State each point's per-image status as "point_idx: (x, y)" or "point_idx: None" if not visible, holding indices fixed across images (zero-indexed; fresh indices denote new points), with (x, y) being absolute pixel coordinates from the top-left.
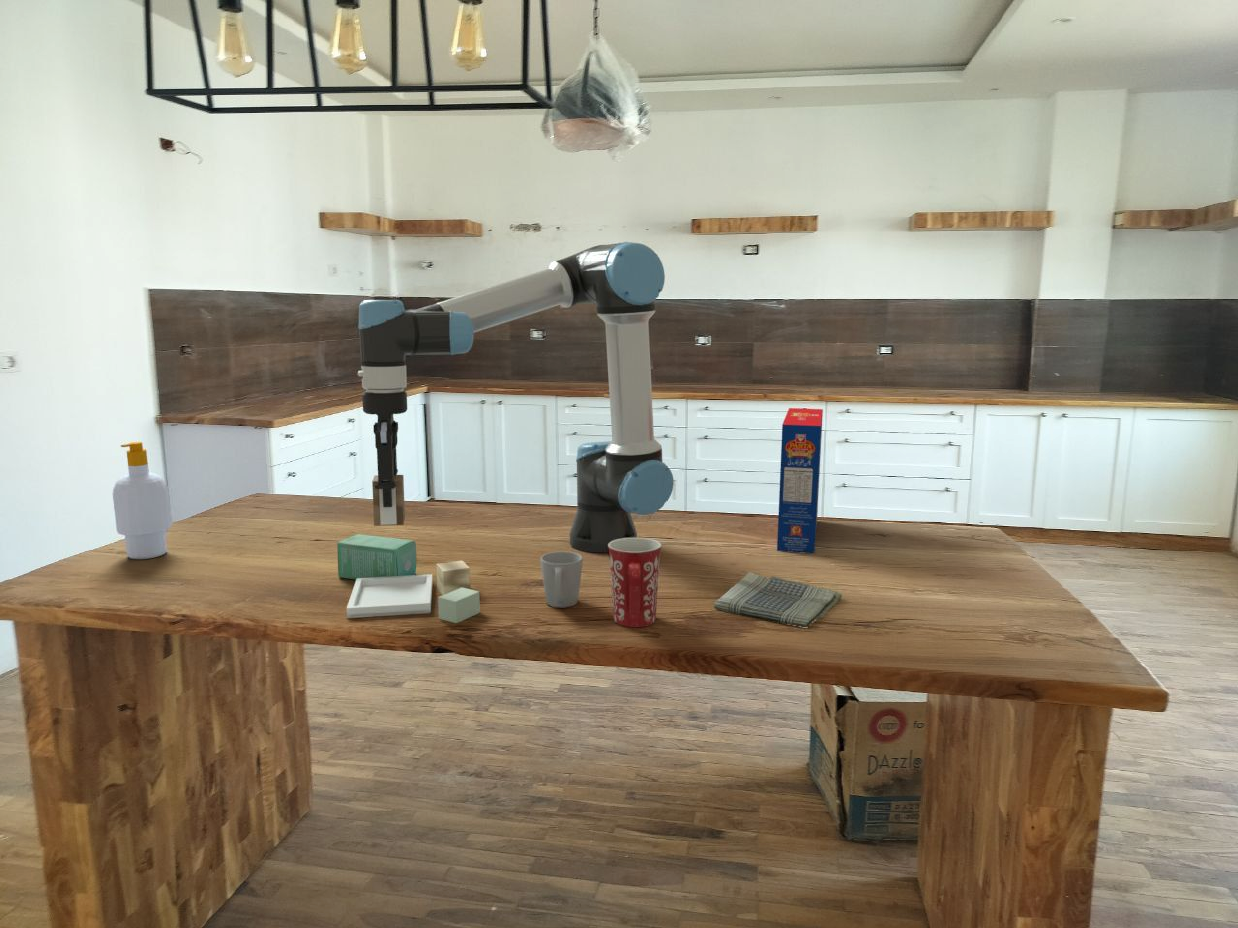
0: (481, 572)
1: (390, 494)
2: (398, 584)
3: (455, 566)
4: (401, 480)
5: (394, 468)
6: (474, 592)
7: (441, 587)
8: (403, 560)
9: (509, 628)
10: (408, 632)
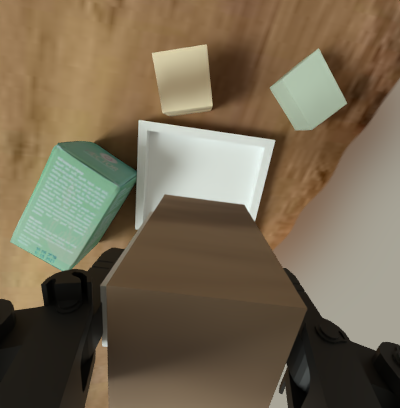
0: (100, 19)
1: (314, 309)
2: (150, 173)
3: (189, 75)
4: (301, 310)
5: (72, 380)
6: (319, 59)
7: (196, 111)
8: (115, 168)
9: (389, 23)
10: (325, 174)
